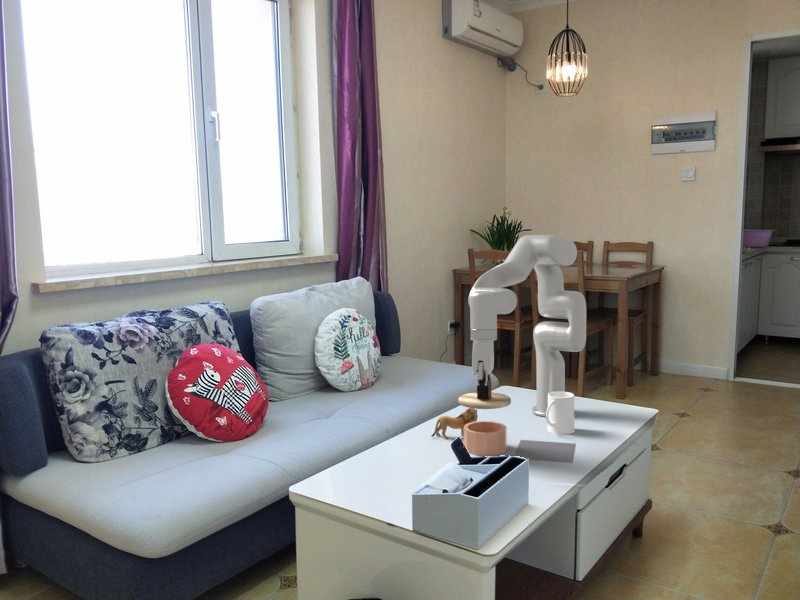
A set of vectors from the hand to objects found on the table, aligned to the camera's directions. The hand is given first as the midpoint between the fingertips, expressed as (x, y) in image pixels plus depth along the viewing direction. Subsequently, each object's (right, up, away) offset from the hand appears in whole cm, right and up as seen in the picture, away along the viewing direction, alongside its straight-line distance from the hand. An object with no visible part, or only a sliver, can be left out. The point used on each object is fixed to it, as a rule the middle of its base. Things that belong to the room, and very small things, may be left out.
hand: (484, 396), depth 194 cm
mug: (+25, -14, +16) cm, 33 cm away
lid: (0, -2, 0) cm, 2 cm away
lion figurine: (-7, -15, +15) cm, 23 cm away
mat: (+17, -16, -1) cm, 24 cm away
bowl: (+1, -16, +2) cm, 16 cm away
